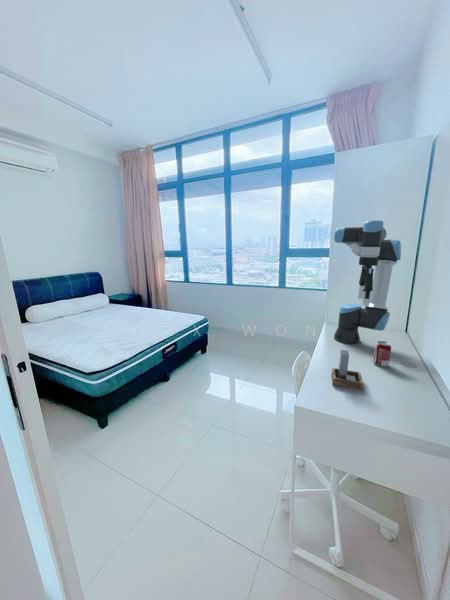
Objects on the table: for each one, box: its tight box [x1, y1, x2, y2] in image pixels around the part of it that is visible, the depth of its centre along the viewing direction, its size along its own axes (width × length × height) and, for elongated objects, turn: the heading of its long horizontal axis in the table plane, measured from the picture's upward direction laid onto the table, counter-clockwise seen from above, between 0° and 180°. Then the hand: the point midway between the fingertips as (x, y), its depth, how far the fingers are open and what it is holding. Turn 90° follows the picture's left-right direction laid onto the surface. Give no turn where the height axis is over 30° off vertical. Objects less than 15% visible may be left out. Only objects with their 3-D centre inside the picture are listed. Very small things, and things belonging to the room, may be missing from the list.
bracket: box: [337, 349, 356, 381], centre depth 110 cm, size 7×5×14 cm
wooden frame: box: [331, 367, 365, 392], centre depth 112 cm, size 10×12×4 cm
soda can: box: [372, 340, 392, 368], centre depth 127 cm, size 7×7×12 cm
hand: (363, 302), depth 116 cm, fingers open, 13 cm apart
